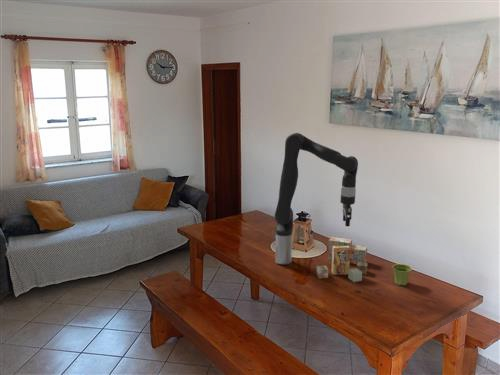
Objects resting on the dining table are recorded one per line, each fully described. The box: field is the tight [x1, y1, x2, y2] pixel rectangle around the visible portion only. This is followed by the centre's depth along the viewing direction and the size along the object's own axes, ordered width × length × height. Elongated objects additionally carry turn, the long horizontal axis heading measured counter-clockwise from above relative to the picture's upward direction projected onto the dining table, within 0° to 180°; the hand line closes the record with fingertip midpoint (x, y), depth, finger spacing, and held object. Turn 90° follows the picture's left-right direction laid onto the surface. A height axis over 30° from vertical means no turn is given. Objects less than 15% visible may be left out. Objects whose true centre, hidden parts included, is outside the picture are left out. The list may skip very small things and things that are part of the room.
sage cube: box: [347, 267, 363, 283], centre depth 235 cm, size 5×5×5 cm
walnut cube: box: [356, 262, 368, 276], centre depth 243 cm, size 5×5×5 cm
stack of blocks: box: [327, 236, 368, 265], centre depth 258 cm, size 21×6×12 cm, turn 62°
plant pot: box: [392, 263, 413, 287], centre depth 230 cm, size 9×9×9 cm
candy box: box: [331, 246, 350, 276], centre depth 241 cm, size 9×4×15 cm, turn 92°
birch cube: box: [316, 265, 329, 279], centre depth 239 cm, size 5×5×5 cm
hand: (346, 223), depth 239 cm, fingers open, 8 cm apart
